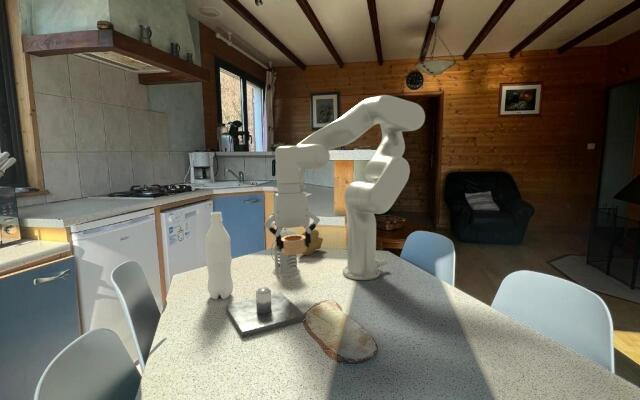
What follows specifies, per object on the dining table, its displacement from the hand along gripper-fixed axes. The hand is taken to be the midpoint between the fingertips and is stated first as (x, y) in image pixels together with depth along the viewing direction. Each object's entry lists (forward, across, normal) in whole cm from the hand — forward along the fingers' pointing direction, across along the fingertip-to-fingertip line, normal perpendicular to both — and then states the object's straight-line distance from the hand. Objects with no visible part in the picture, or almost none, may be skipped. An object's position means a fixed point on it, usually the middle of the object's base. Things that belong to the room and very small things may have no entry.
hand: (293, 246), depth 105 cm
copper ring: (+1, 0, 0) cm, 1 cm away
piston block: (+13, +10, +15) cm, 22 cm away
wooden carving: (+15, -9, -36) cm, 39 cm away
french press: (+14, +2, -16) cm, 21 cm away
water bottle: (+13, +22, 0) cm, 26 cm away
